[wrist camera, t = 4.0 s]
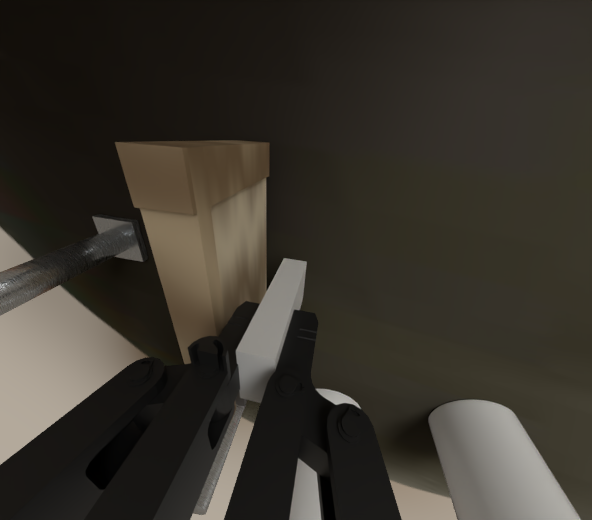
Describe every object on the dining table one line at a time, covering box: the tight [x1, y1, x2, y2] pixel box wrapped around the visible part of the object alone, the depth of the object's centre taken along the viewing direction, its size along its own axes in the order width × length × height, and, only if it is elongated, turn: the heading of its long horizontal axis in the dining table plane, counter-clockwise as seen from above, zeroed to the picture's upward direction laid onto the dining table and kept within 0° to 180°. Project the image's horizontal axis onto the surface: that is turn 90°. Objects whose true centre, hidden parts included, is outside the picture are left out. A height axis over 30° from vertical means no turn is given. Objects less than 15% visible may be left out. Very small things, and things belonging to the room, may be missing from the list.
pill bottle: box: [428, 399, 581, 520], centre depth 18 cm, size 8×8×11 cm
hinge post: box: [193, 401, 247, 515], centre depth 16 cm, size 4×4×12 cm
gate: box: [115, 140, 269, 423], centre depth 13 cm, size 15×2×8 cm, turn 176°
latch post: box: [0, 214, 148, 315], centre depth 14 cm, size 4×4×12 cm
